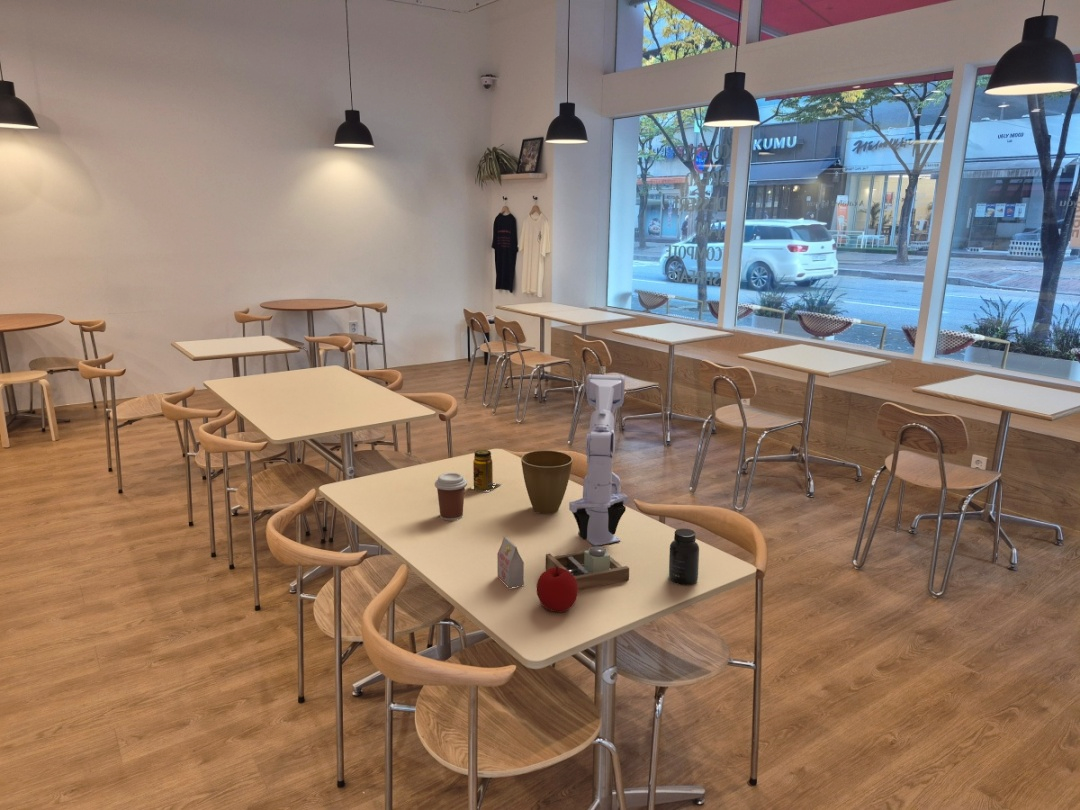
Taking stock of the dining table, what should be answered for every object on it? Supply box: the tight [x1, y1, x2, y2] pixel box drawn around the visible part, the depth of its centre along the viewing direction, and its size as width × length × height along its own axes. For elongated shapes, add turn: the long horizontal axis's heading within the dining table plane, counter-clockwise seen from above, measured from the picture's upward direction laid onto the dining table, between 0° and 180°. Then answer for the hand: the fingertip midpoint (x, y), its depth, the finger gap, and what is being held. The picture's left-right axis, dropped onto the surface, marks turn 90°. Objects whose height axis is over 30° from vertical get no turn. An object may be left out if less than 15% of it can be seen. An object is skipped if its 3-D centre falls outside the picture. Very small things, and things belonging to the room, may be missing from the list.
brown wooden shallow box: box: [544, 547, 630, 591], centre depth 175 cm, size 12×16×4 cm
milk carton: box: [496, 536, 525, 589], centre depth 170 cm, size 4×7×10 cm, turn 26°
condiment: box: [468, 449, 502, 493], centre depth 231 cm, size 7×8×12 cm
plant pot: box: [520, 449, 574, 515], centre depth 213 cm, size 15×15×16 cm
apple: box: [536, 567, 579, 613], centre depth 159 cm, size 9×9×10 cm
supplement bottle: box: [668, 528, 700, 586], centre depth 172 cm, size 7×7×12 cm
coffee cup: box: [434, 472, 468, 522], centre depth 208 cm, size 9×9×12 cm
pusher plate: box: [566, 556, 590, 576], centre depth 173 cm, size 9×5×3 cm, turn 24°
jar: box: [583, 545, 611, 573], centre depth 175 cm, size 4×4×6 cm
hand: (597, 535), depth 174 cm, fingers open, 7 cm apart
